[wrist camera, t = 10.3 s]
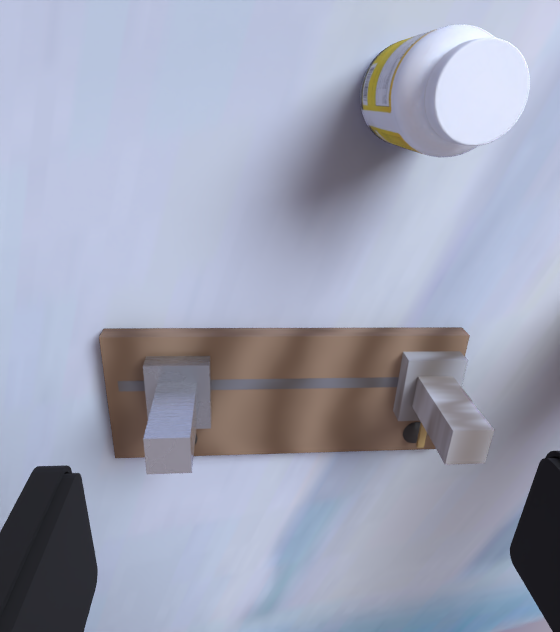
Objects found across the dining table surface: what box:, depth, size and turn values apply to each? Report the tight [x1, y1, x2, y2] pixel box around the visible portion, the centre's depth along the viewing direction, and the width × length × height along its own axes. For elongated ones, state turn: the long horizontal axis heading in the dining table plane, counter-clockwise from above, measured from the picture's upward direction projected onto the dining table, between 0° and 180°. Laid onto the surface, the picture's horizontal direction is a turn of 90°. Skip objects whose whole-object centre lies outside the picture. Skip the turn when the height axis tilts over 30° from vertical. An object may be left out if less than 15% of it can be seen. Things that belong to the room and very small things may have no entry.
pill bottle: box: [360, 24, 530, 157], centre depth 28 cm, size 6×6×12 cm
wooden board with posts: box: [99, 328, 494, 465], centre depth 38 cm, size 30×12×10 cm, turn 88°
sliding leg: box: [143, 356, 212, 474], centre depth 36 cm, size 5×9×8 cm, turn 178°
